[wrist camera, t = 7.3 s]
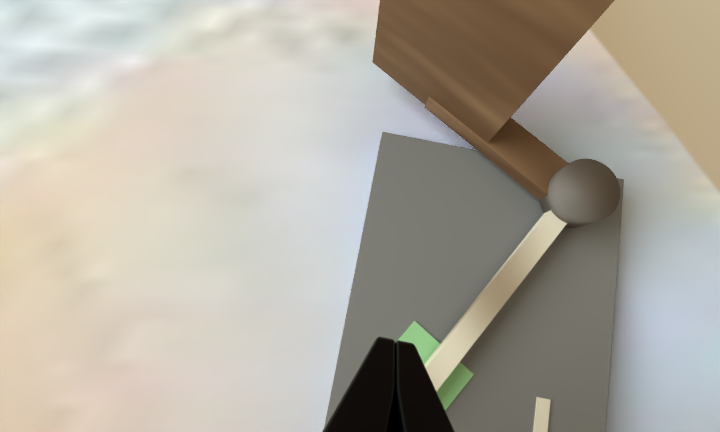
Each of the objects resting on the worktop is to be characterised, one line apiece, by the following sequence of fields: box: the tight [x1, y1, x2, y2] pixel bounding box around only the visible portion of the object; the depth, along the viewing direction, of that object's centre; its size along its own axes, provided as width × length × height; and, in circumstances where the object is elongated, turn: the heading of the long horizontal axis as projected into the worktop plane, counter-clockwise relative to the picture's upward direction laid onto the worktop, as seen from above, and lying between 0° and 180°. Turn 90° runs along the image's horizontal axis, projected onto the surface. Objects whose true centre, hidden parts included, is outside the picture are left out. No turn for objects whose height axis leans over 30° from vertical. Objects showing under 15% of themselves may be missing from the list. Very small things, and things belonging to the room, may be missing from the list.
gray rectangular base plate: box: [324, 132, 624, 432], centre depth 18 cm, size 14×10×1 cm
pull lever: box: [373, 0, 621, 392], centre depth 11 cm, size 12×11×14 cm
